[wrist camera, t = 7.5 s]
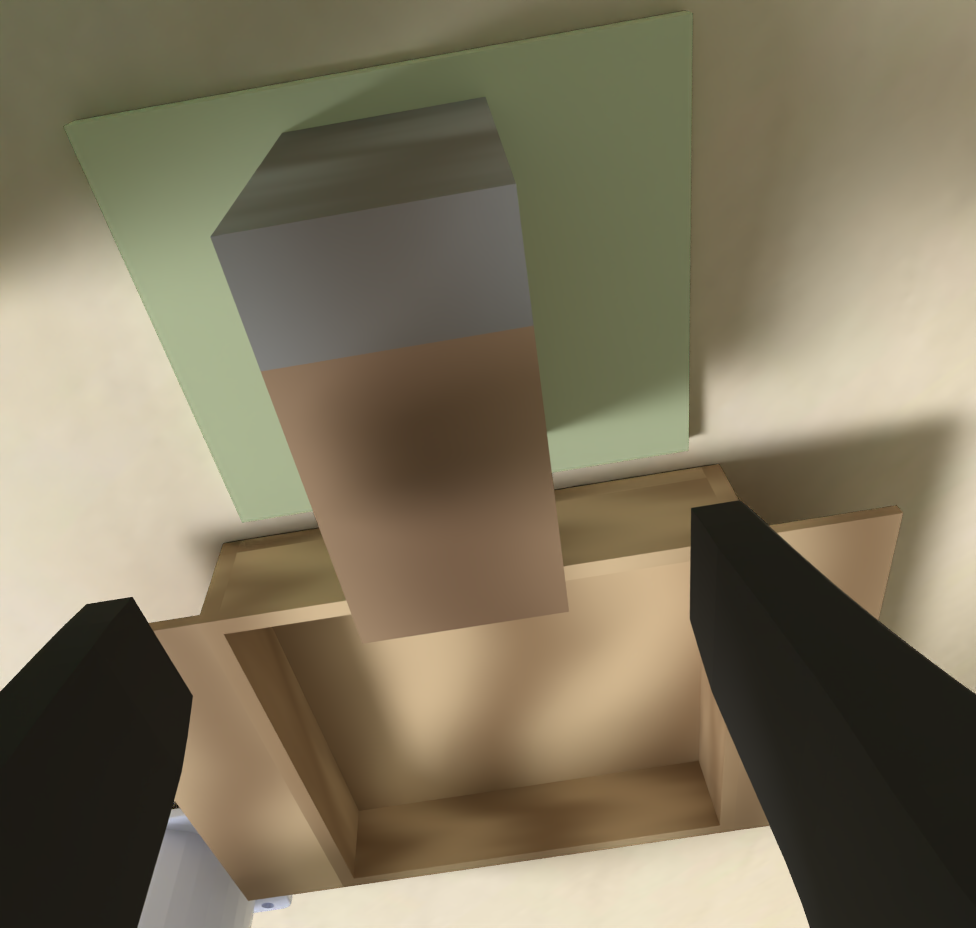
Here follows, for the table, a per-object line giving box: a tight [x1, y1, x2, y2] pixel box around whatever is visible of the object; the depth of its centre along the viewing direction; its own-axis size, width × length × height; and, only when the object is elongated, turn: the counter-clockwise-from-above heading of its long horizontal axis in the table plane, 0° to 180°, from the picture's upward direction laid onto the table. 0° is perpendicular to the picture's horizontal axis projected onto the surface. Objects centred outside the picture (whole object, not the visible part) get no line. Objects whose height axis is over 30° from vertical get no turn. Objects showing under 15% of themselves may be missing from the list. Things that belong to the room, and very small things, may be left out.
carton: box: [149, 464, 903, 901], centre depth 24 cm, size 21×14×3 cm, turn 99°
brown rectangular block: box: [210, 97, 569, 644], centre depth 14 cm, size 4×8×6 cm, turn 9°
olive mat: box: [63, 11, 693, 523], centre depth 17 cm, size 12×10×1 cm
